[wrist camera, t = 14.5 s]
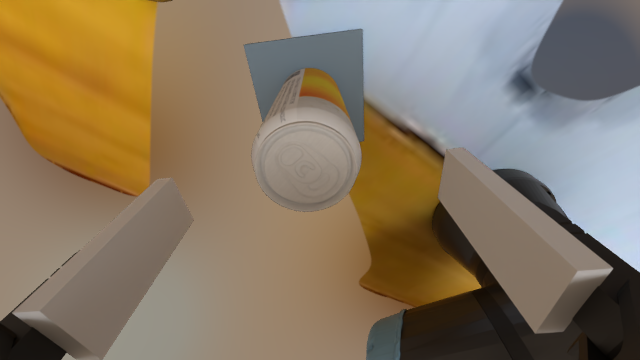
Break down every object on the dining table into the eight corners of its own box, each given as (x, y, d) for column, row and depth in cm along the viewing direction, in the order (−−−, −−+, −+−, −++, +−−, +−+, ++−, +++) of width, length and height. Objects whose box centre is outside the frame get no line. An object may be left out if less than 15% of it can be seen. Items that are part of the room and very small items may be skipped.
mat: (362, 137, 29) (364, 141, 28) (271, 147, 29) (270, 151, 28) (360, 28, 23) (362, 29, 22) (246, 44, 23) (243, 44, 22)
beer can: (308, 137, 27) (303, 233, 15) (268, 95, 25) (221, 168, 12) (351, 101, 25) (388, 176, 13) (312, 52, 23) (309, 85, 10)
